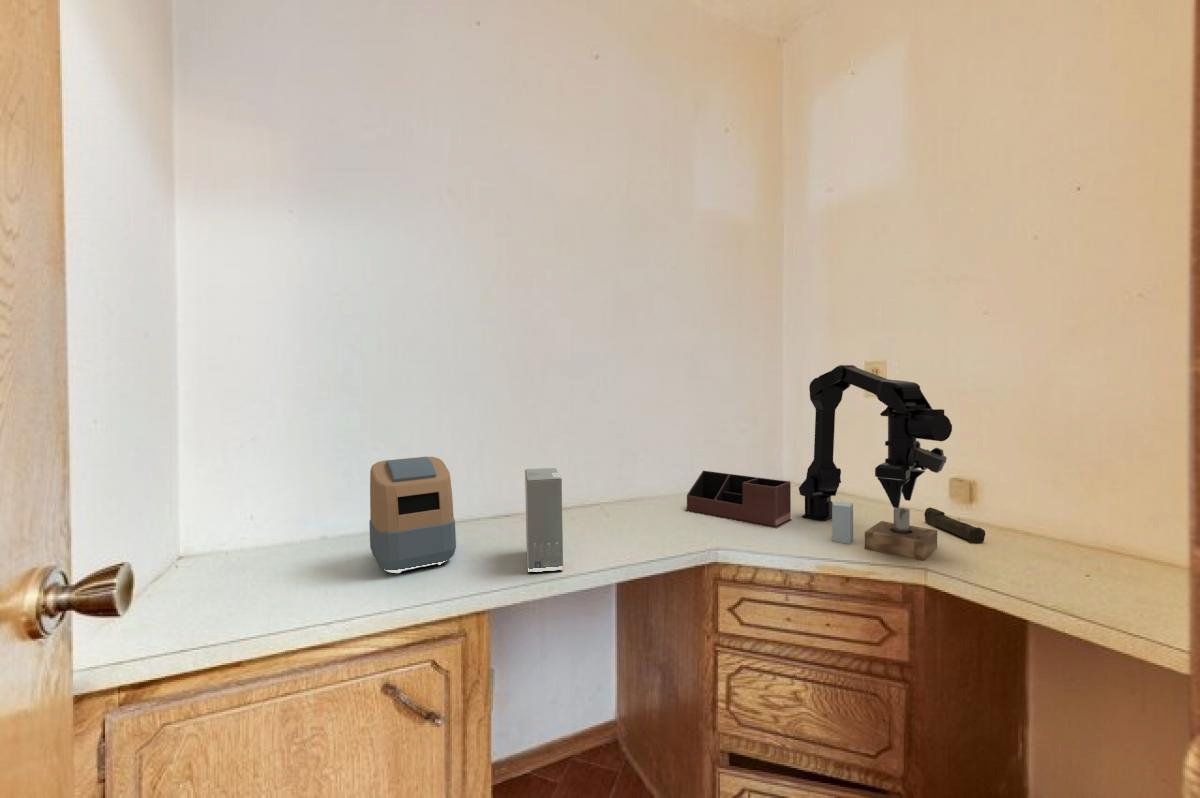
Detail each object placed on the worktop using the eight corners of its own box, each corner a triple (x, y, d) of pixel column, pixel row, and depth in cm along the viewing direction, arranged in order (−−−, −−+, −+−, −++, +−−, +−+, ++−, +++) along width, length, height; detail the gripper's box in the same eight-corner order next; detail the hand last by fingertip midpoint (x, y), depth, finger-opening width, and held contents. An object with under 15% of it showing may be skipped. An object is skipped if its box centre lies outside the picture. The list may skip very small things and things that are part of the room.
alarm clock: (381, 581, 108) (377, 469, 107) (368, 558, 123) (364, 459, 122) (461, 564, 117) (458, 461, 116) (440, 545, 131) (437, 452, 130)
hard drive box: (564, 572, 112) (562, 478, 111) (527, 575, 110) (525, 480, 110) (557, 548, 127) (556, 466, 126) (525, 551, 126) (523, 468, 125)
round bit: (891, 547, 123) (891, 508, 123) (895, 544, 125) (896, 506, 125) (906, 550, 121) (907, 511, 120) (910, 547, 123) (911, 508, 123)
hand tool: (986, 544, 125) (986, 525, 125) (969, 544, 125) (969, 525, 125) (935, 522, 144) (935, 505, 144) (920, 522, 144) (921, 506, 144)
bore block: (864, 548, 123) (864, 531, 123) (881, 536, 131) (881, 520, 131) (923, 560, 114) (923, 542, 114) (937, 547, 123) (937, 530, 123)
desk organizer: (777, 529, 140) (776, 487, 140) (684, 511, 160) (683, 474, 160) (793, 521, 148) (793, 481, 147) (702, 505, 168) (702, 470, 167)
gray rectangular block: (832, 541, 129) (832, 504, 128) (835, 537, 132) (835, 501, 132) (850, 544, 126) (850, 506, 126) (853, 539, 130) (853, 503, 129)
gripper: (932, 443, 109) (931, 517, 110) (952, 435, 123) (952, 501, 123) (874, 439, 117) (874, 509, 118) (899, 432, 130) (899, 495, 131)
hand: (901, 503), depth 122 cm, fingers open, 9 cm apart
